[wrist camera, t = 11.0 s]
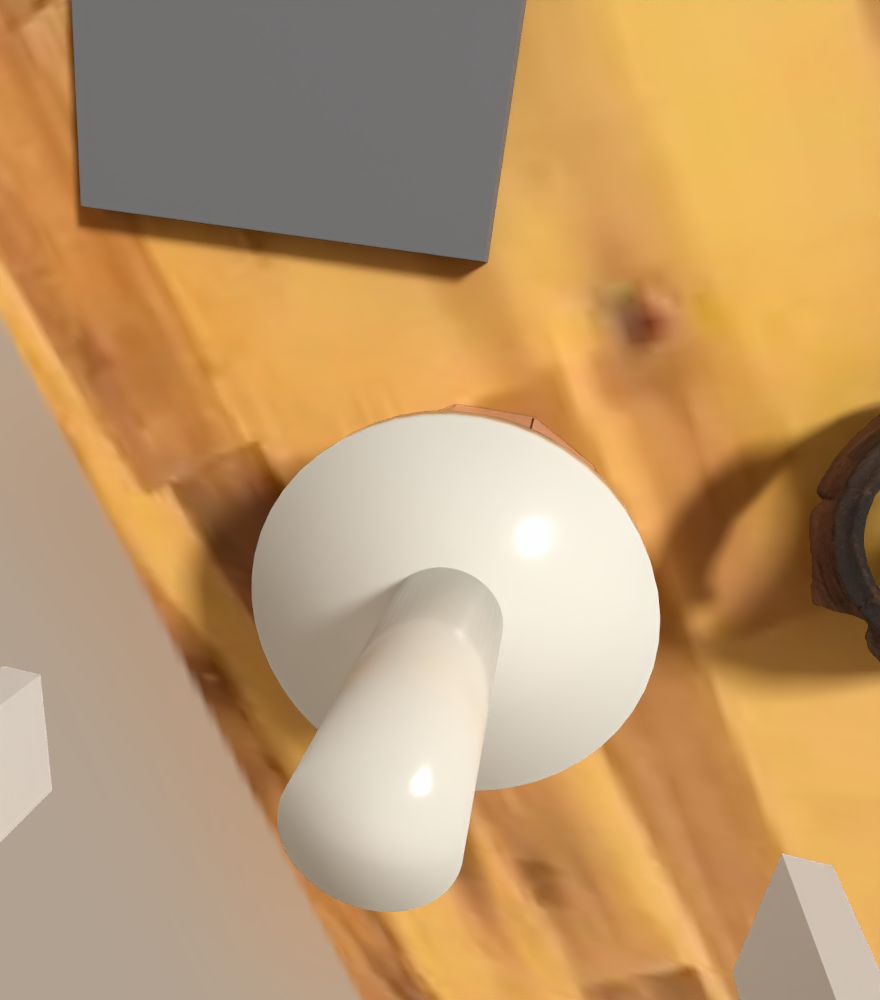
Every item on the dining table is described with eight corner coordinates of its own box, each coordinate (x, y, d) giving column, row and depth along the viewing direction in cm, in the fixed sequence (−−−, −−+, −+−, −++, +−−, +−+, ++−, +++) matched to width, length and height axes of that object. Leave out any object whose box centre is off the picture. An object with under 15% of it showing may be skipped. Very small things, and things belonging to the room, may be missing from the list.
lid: (277, 376, 19) (43, 448, 10) (706, 454, 17) (843, 613, 9) (255, 720, 23) (73, 975, 14) (602, 807, 21) (628, 1149, 13)
